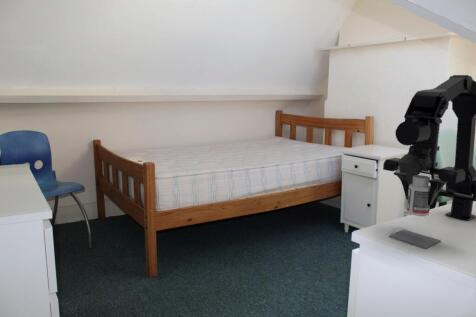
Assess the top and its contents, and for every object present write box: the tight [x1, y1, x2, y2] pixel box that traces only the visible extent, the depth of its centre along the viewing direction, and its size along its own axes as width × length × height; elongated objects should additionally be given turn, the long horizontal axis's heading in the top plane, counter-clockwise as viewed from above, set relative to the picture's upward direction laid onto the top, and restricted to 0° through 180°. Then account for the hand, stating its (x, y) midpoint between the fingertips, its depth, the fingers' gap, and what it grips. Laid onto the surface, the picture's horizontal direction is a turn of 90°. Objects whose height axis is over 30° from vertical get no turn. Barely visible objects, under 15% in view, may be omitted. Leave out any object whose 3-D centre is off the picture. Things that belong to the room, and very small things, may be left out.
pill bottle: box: [406, 174, 431, 217], centre depth 106 cm, size 5×5×10 cm
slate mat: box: [388, 228, 442, 250], centre depth 108 cm, size 8×10×1 cm
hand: (418, 202), depth 106 cm, fingers closed on pill bottle, 5 cm apart
